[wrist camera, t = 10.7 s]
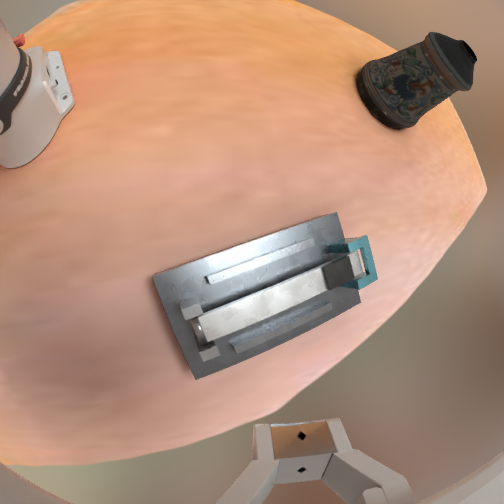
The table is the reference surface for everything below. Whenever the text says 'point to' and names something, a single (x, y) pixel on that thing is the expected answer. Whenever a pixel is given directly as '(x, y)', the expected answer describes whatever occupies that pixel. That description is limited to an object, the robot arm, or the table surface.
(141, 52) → the table surface
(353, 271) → the silver long bar
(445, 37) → the beer stein
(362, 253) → the grey mechanical fixture
